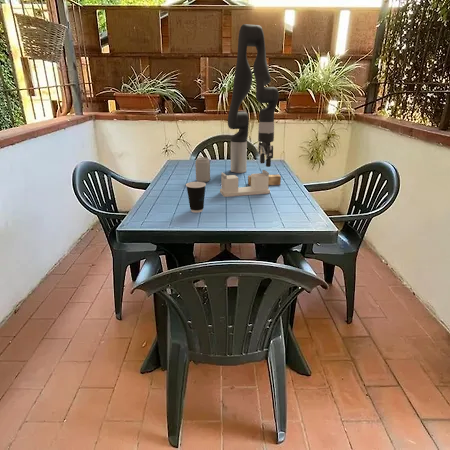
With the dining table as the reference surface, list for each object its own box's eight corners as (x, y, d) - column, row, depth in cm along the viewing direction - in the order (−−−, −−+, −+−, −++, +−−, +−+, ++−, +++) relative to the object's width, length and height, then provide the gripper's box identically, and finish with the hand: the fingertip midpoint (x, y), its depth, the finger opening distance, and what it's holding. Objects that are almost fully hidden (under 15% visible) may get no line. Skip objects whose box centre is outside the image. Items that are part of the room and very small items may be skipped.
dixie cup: (187, 207, 144) (185, 181, 140) (206, 207, 145) (205, 181, 141) (187, 214, 137) (185, 187, 133) (207, 213, 138) (206, 186, 133)
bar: (249, 186, 175) (249, 177, 173) (247, 184, 179) (248, 175, 177) (280, 185, 177) (280, 176, 175) (278, 182, 180) (278, 174, 179)
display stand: (224, 196, 158) (223, 176, 154) (220, 191, 165) (219, 172, 161) (269, 193, 163) (270, 173, 159) (263, 188, 170) (264, 169, 166)
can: (193, 181, 182) (192, 158, 178) (200, 178, 188) (200, 156, 184) (205, 183, 179) (205, 160, 175) (212, 180, 185) (212, 157, 181)
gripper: (254, 130, 173) (253, 162, 179) (263, 133, 161) (262, 168, 166) (268, 129, 175) (267, 161, 181) (279, 132, 162) (277, 167, 168)
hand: (265, 164), depth 174 cm, fingers open, 8 cm apart
